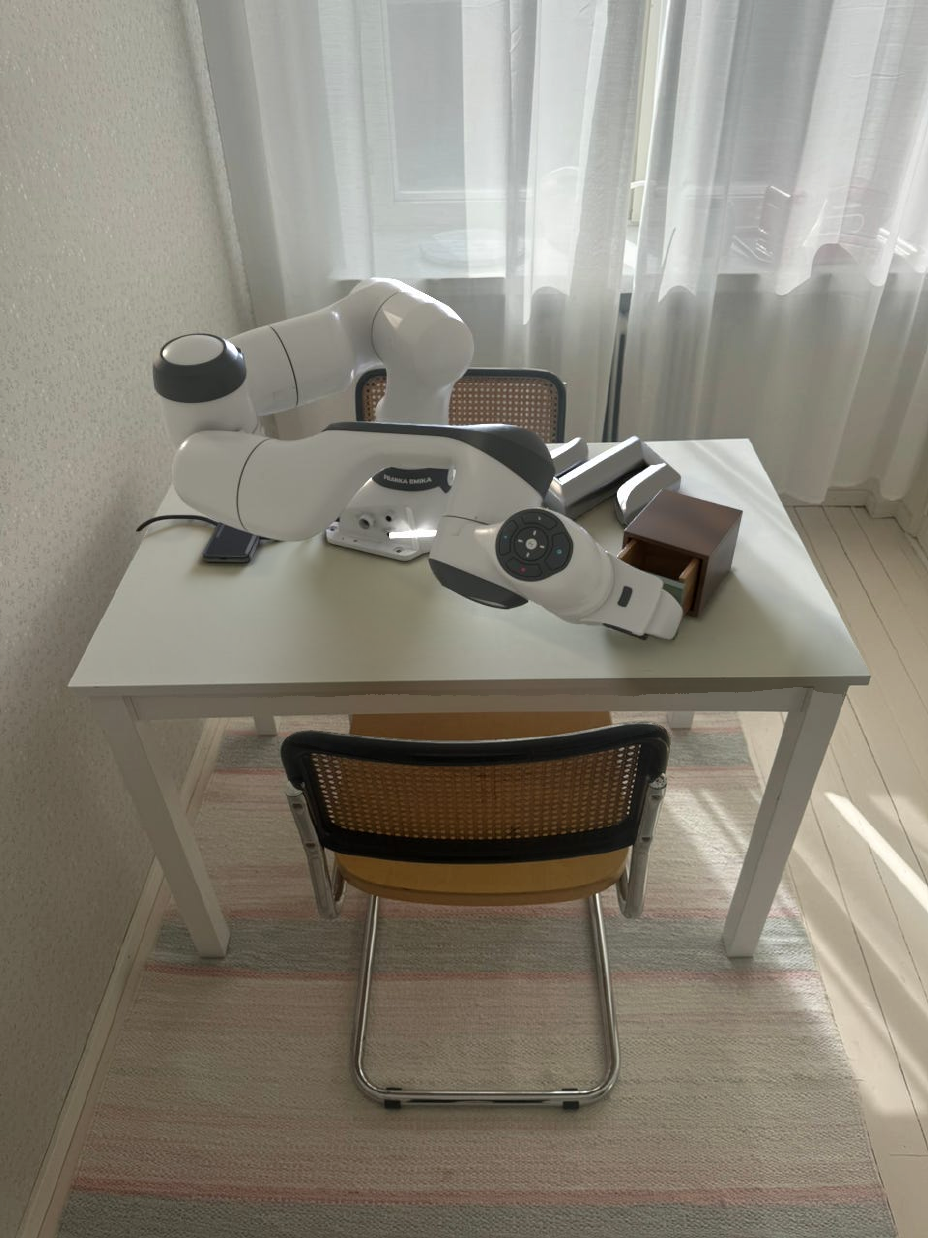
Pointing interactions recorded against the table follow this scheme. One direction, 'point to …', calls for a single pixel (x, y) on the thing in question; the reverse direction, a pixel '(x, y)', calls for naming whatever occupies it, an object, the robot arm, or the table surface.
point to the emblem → (608, 478)
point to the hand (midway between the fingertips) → (609, 607)
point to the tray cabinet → (691, 536)
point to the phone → (230, 545)
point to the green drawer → (665, 572)
